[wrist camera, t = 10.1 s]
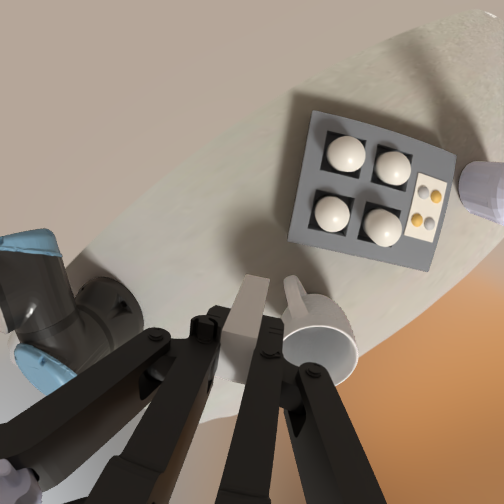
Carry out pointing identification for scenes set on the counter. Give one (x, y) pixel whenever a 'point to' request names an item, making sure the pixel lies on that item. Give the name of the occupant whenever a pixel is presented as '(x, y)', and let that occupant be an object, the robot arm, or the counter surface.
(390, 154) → the button
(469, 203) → the soap bottle
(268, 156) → the counter surface
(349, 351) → the mug
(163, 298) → the counter surface
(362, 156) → the button
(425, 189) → the button board
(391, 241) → the button
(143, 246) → the counter surface
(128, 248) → the counter surface
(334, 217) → the button
